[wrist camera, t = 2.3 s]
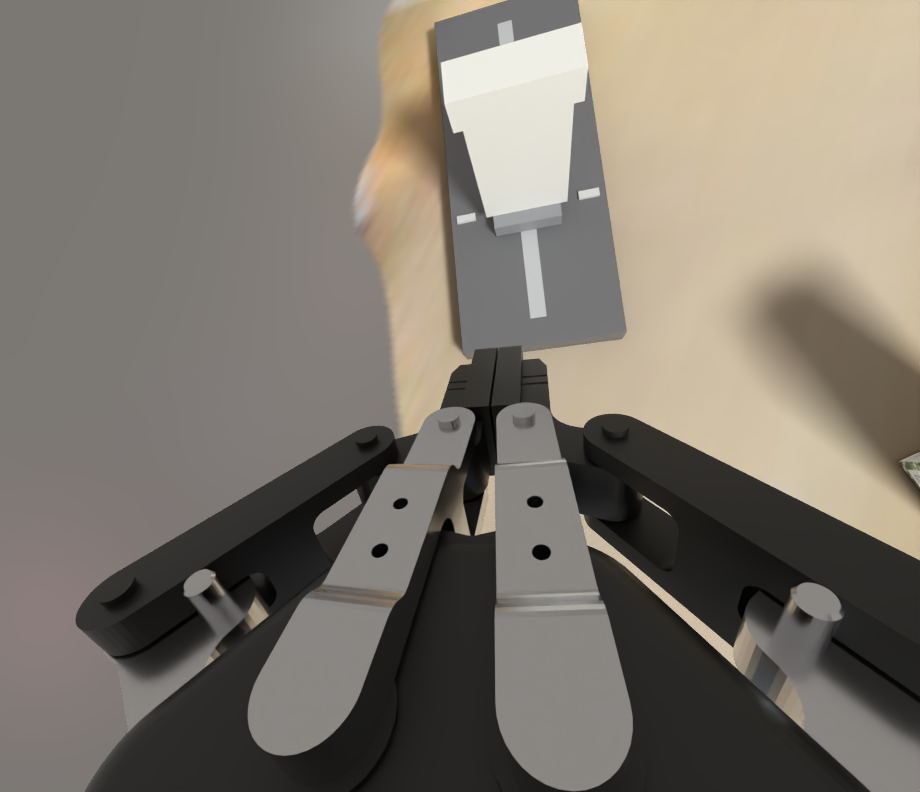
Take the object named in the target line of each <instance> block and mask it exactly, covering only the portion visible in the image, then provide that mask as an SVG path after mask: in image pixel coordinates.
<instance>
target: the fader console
mask: <svg viewBox="0 0 920 792" xmlns="http://www.w3.org/2000/svg"><path fill="white" fill-rule="evenodd" d="M578 23H581V18H580V12H579V5H578V0H507V1H504V2H501V3H497V4H494V5H491V6H488V7H484V8H481V9H478V10H475V11H471V12H468V13H465V14H462V15H458V16H455V17H452V18H448V19H445V20H442V21H439V22H435V23H434V24H435V36H436V47H437V59H438V71H439V82H440V94H441V105H442V117H443V129H444V140H445V152H446V164H447V175H448V187H449V198H450V210H451V222H452V233H453V245H454V256H455V268H456V280H457V291H458V303H459V314H460V326H461V338H462V349H463V354H464V356H465V357H466V358H467V359H473V356H474V351H475V349H485V348H496V347H497V348H498V350H499V347H507V346H518V345H522V352H527V351H535V350H542V349H550V348H557V347H565V346H572V345H580V344H587V343H595V342H603V341H610V340H618V339H622V338H623V337H624V335H625V333H626V332H627V331H626V324H625V317H624V310H623V303H622V297H621V290H620V283H619V276H618V270H617V263H616V256H615V249H614V242H613V236H612V229H611V222H610V215H609V208H608V202H607V195H606V188H605V181H604V175H603V168H602V161H601V154H600V147H599V141H598V134H597V127H596V120H595V113H594V107H593V100H592V93H591V86H590V80H589V73H588V72H587V83H586V93H585V101H582V102H578V103H574V111H573V126H572V141H571V155H570V170H569V185H568V199H567V202H562V203H560V204H561V211H562V224H559V225H554V226H548V227H543V228H538V229H533V230H528V231H522V232H517V233H512V234H507V235H501V236H496V233H495V229H494V219H493V216H492V217H486V213H485V210H484V206H483V202H482V199H481V195H480V191H479V188H478V184H477V181H476V177H475V173H474V170H473V166H472V162H471V159H470V155H469V152H468V148H467V144H466V141H465V137H464V133H463V131H461V132H457V133H453V130H452V127H451V124H450V121H449V117H448V114H447V111H446V108H445V104H444V94H443V83H442V71H441V62H445V61H448V60H452V59H455V58H459V57H462V56H466V55H469V54H473V53H476V52H480V51H483V50H487V49H490V48H494V47H497V46H501V45H504V44H508V43H511V42H515V41H518V40H522V39H525V38H529V37H532V36H536V35H539V34H543V33H546V32H550V31H553V30H557V29H560V28H564V27H567V26H571V25H574V24H578Z"/></svg>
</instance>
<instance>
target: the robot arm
mask: <svg viewBox="0 0 920 792" xmlns="http://www.w3.org/2000/svg"><path fill="white" fill-rule="evenodd" d="M492 475H495V520H496V531H494V532H489V533H485V534H481V530H482V525H483V520H484V516H485V511H486V506H487V501H488V491H487V485H488V479H489V476H492ZM355 489H357V491H358V494H359V496H360V499H361V502H362V504H360V505H359V506H358V507H357V508H355V509H353V510H352V511H351V512H349V513H348V514H346V515H345V516H344V517H342V518H341V519H340V520H338V521H336V522H335V523H334V524H332V525H331V526H329V527H328V528H327V529H325V530H324V531H322V532H321V533H319V534H317V535H315V533H314V530H313V525H314V522H315V520H316V518H317V517H318V515H319V514H320V513H322V512H323V511H324V510H326V509H327V508H329V507H330V506H331V505H333V504H335V503H336V502H337V501H339V500H340V499H342V498H343V497H345V496H346V495H348V494H349V493H351V492H352V491H354V490H355ZM643 496H645V497H647V498H648V499H650V500H651V501H653V502H654V503H656V504H657V505H659V506H660V507H662V508H663V509H664V510H666V511H667V512H668V513H669V514H670V515H671V516H672V517H671V516H670V515H668V514H667V513H665V512H664V511H662V510H661V509H659V508H658V507H656V506H655V505H653V504H652V503H650V502H649V501H647V500H646V499H645V498H643ZM580 514H583V515H584V518H585V521H586V523H587V524H588V526H589V527H590V528H591V529H592V530H594V531H595V532H596V533H597V534H598V535H600V536H601V537H602V538H603V539H604V540H605V541H607V542H608V543H609V544H610V545H611V546H613V547H614V548H615V549H616V550H617V551H619V552H620V553H621V554H622V555H623V556H625V557H626V558H627V559H628V560H629V561H631V562H632V563H633V564H634V565H635V566H637V567H638V568H639V569H640V570H641V571H642V572H644V573H645V574H646V575H647V576H648V577H650V578H651V579H652V580H653V581H654V582H656V583H657V584H658V585H659V586H660V587H662V588H663V589H664V590H665V591H666V592H668V593H669V594H670V595H671V596H672V597H673V598H675V599H676V600H677V601H678V602H679V603H681V604H682V605H683V606H684V607H685V608H687V609H688V610H689V611H690V612H691V613H693V614H694V615H695V616H696V617H697V618H699V619H700V620H701V621H702V622H703V623H705V624H706V625H707V626H708V627H709V628H710V629H712V630H713V631H714V632H715V633H716V634H718V635H719V636H720V637H721V638H722V639H724V640H725V641H726V642H727V643H728V644H730V645H731V646H732V647H733V654H734V660H735V664H736V666H737V668H736V667H734V666H733V665H732V664H731V663H730V662H729V661H728V660H727V659H726V658H725V657H723V656H722V655H721V654H720V653H719V652H718V651H717V650H716V649H715V648H714V647H713V646H711V645H710V644H709V643H708V642H707V641H706V640H705V639H704V638H703V637H702V636H700V635H699V634H698V633H697V632H696V631H695V630H694V629H693V628H692V627H691V626H690V625H688V624H687V623H686V622H685V621H684V620H683V619H682V618H681V617H680V616H679V615H677V614H676V613H675V612H674V611H673V610H672V609H671V608H670V607H669V606H668V605H667V604H665V603H664V602H663V601H662V600H661V599H660V598H659V597H658V596H657V595H656V594H654V593H653V592H652V591H651V590H650V589H649V588H648V587H647V586H646V585H645V584H644V583H642V582H641V581H640V580H639V579H638V578H637V577H636V576H635V575H634V574H633V573H631V572H630V571H629V570H628V569H627V568H626V567H625V566H623V565H622V564H620V563H619V562H618V561H616V560H615V559H614V558H612V557H610V556H608V555H607V554H605V553H603V552H601V551H599V550H597V549H594V548H592V547H590V546H587V543H586V539H585V535H584V530H583V526H582V522H581V518H580ZM76 624H77V627H79V628H80V629H81V630H82V631H83V632H84V633H85V634H86V635H87V636H89V637H90V638H91V639H92V640H93V641H94V642H95V643H96V644H97V645H98V646H100V647H101V648H102V649H103V652H104V655H105V656H106V657H108V658H109V659H110V660H111V661H112V662H113V663H114V664H115V665H116V666H117V667H118V673H119V679H120V685H121V691H122V696H123V703H124V708H125V713H126V720H127V726H128V733H127V734H126V735H125V736H124V737H123V739H122V740H121V741H120V742H119V743H118V744H117V745H116V746H115V748H114V749H113V750H112V751H111V753H110V754H109V755H108V757H107V758H106V759H105V761H104V762H103V763H102V765H101V766H100V768H99V769H98V771H97V772H96V774H95V775H94V777H93V779H92V780H91V782H90V783H89V785H88V786H87V788H86V790H85V792H920V560H918V559H916V558H914V557H912V556H910V555H908V554H906V553H904V552H902V551H900V550H898V549H896V548H894V547H892V546H890V545H888V544H886V543H884V542H882V541H880V540H878V539H876V538H874V537H872V536H870V535H868V534H866V533H864V532H862V531H860V530H858V529H856V528H854V527H852V526H850V525H848V524H846V523H844V522H842V521H840V520H838V519H836V518H834V517H832V516H830V515H828V514H826V513H824V512H822V511H820V510H818V509H816V508H814V507H812V506H810V505H808V504H806V503H804V502H802V501H800V500H798V499H796V498H794V497H792V496H790V495H788V494H786V493H784V492H782V491H780V490H778V489H776V488H774V487H772V486H770V485H768V484H766V483H764V482H762V481H760V480H758V479H756V478H754V477H752V476H750V475H748V474H746V473H744V472H742V471H740V470H738V469H736V468H734V467H732V466H730V465H728V464H726V463H724V462H722V461H720V460H718V459H715V458H713V457H711V456H709V455H707V454H705V453H703V452H701V451H699V450H697V449H695V448H693V447H691V446H689V445H687V444H685V443H683V442H681V441H679V440H677V439H675V438H673V437H671V436H669V435H667V434H665V433H663V432H661V431H659V430H657V429H655V428H653V427H651V426H649V425H647V424H645V423H643V422H641V421H639V420H637V419H635V418H633V417H630V416H627V415H622V414H604V415H600V416H596V417H594V418H592V419H590V420H589V421H588V422H587V423H586V424H585V426H584V428H579V427H574V426H569V425H566V424H564V423H561V422H560V421H558V420H557V419H555V418H554V417H553V415H552V413H551V410H550V400H549V389H548V378H547V367H546V365H545V364H544V363H543V362H542V361H541V360H540V359H529V360H523V353H522V345H518V346H507V347H499V350H498V348H497V347H496V348H485V349H475V351H474V356H473V360H472V364H469V365H460V366H459V367H458V368H457V369H456V370H455V371H454V372H453V373H452V374H451V377H450V380H449V384H448V386H447V391H446V393H445V396H444V399H443V402H442V405H441V408H440V410H438V411H435V412H434V413H432V414H430V415H429V416H428V417H427V418H426V419H425V421H424V423H423V425H422V427H421V429H420V431H419V433H417V434H413V435H410V436H406V437H402V438H398V439H395V437H394V434H393V432H392V430H391V429H389V428H387V427H384V426H371V427H366V428H363V429H360V430H358V431H356V432H354V433H352V434H351V435H349V436H347V437H346V438H344V439H342V440H340V441H339V442H337V443H335V444H334V445H332V446H330V447H329V448H327V449H325V450H323V451H322V452H320V453H319V454H317V455H315V456H313V457H312V458H310V459H308V460H307V461H305V462H303V463H302V464H300V465H298V466H296V467H295V468H293V469H291V470H290V471H288V472H286V473H284V474H283V475H281V476H279V477H278V478H276V479H274V480H273V481H271V482H269V483H268V484H266V485H264V486H262V487H261V488H259V489H257V490H256V491H254V492H252V493H251V494H249V495H247V496H246V497H244V498H242V499H240V500H239V501H237V502H235V503H234V504H232V505H230V506H228V507H227V508H225V509H223V510H222V511H220V512H218V513H217V514H215V515H213V516H212V517H210V518H208V519H206V520H205V521H203V522H201V523H200V524H198V525H196V526H195V527H193V528H191V529H189V530H188V531H186V532H185V533H183V534H181V535H179V536H178V537H176V538H174V539H173V540H171V541H169V542H167V543H166V544H164V545H162V546H161V547H159V548H157V549H156V550H154V551H153V552H150V553H149V554H147V555H145V556H144V557H142V558H141V559H139V560H137V561H135V562H133V563H132V564H130V565H128V566H127V567H125V568H123V569H122V570H120V571H118V572H117V573H115V574H114V575H112V576H110V577H109V578H107V579H106V580H105V581H103V582H102V583H101V584H100V585H99V586H97V587H96V588H95V589H94V590H93V591H92V592H91V593H90V594H89V595H88V597H87V598H86V599H85V600H84V602H83V603H82V605H81V606H80V608H79V610H78V612H77V615H76Z"/></svg>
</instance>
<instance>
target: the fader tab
mask: <svg viewBox="0 0 920 792" xmlns="http://www.w3.org/2000/svg"><path fill="white" fill-rule="evenodd" d="M441 71H442V83H443V94H444V104H445V108H446V111H447V114H448V117H449V121H450V124H451V127H452V130H453V133H457V132H461V131H463V133H464V137H465V141H466V144H467V148H468V152H469V155H470V159H471V162H472V166H473V170H474V173H475V177H476V181H477V184H478V188H479V191H480V195H481V199H482V202H483V206H484V210H485V213H486V217H492V216H493V219H494V229H495V233H496V236H501V235H507V234H512V233H517V232H522V231H528V230H533V229H538V228H543V227H548V226H554V225H559V224H562V211H561V204H560V203H562V202H567V199H568V185H569V170H570V155H571V141H572V126H573V111H574V103H578V102H582V101H585V93H586V83H587V72H588V62H587V55H586V48H585V41H584V34H583V28H582V22H581V23H578V24H574V25H571V26H567V27H564V28H560V29H557V30H553V31H550V32H546V33H543V34H539V35H536V36H532V37H529V38H525V39H522V40H518V41H515V42H511V43H508V44H504V45H501V46H497V47H494V48H490V49H487V50H483V51H480V52H476V53H473V54H469V55H466V56H462V57H459V58H455V59H452V60H448V61H445V62H441Z"/></svg>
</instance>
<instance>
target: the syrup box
mask: <svg viewBox="0 0 920 792" xmlns="http://www.w3.org/2000/svg"><path fill="white" fill-rule="evenodd" d="M899 463H900V464H901V466H902V467H903V469H904V470H905V471H906V473H907V474H908V476H909V477H910V478H911V479H912V481H913V482H914V483H915V485H916V486H917V488H918V489H919V490H920V452H918V453H916V454H914V455H911V456H909V457H907V458H905V459H903V460H901V461H899Z"/></svg>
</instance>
